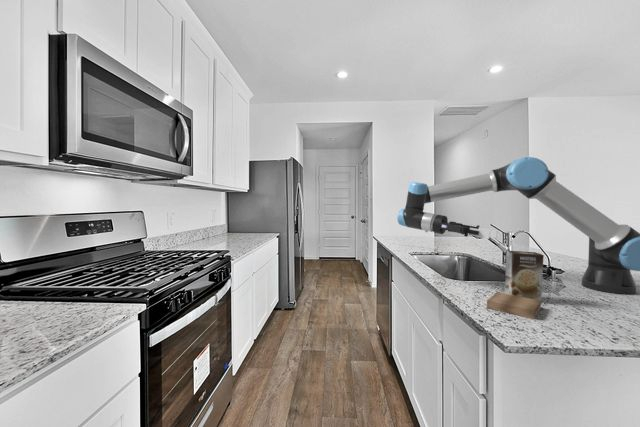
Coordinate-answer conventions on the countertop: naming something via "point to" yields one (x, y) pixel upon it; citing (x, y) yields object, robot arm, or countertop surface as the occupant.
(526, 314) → the walnut board
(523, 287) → the brown food box
